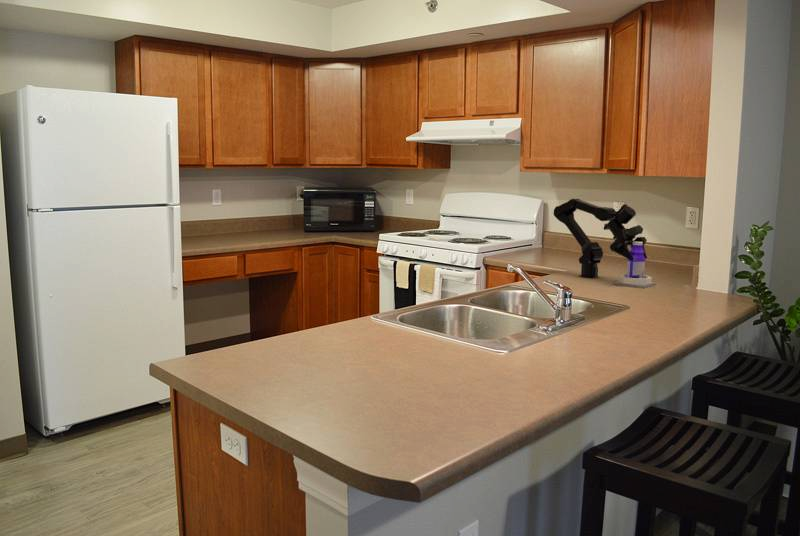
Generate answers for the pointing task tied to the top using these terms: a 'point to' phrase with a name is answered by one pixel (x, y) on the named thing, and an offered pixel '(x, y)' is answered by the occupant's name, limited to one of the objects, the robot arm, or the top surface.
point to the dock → (635, 281)
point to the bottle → (636, 261)
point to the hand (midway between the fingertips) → (639, 259)
